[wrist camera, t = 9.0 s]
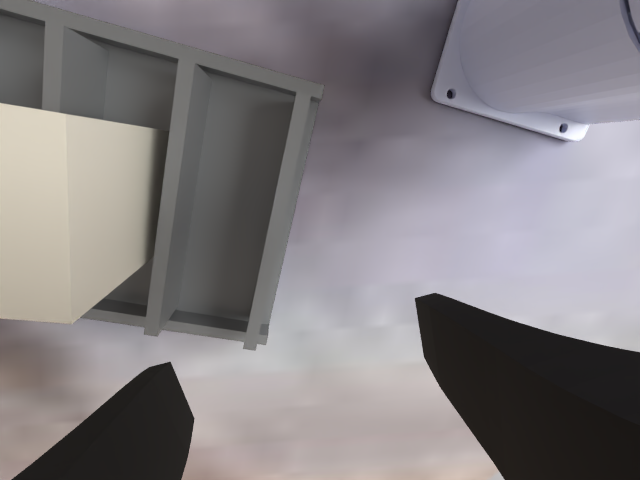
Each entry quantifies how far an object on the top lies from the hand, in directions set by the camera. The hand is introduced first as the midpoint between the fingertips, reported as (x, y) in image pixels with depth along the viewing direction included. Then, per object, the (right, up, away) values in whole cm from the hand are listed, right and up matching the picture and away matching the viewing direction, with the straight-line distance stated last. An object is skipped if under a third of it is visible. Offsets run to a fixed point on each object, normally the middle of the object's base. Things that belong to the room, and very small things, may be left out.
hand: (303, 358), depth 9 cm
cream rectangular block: (-9, +6, +7) cm, 13 cm away
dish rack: (-9, +6, +8) cm, 13 cm away
